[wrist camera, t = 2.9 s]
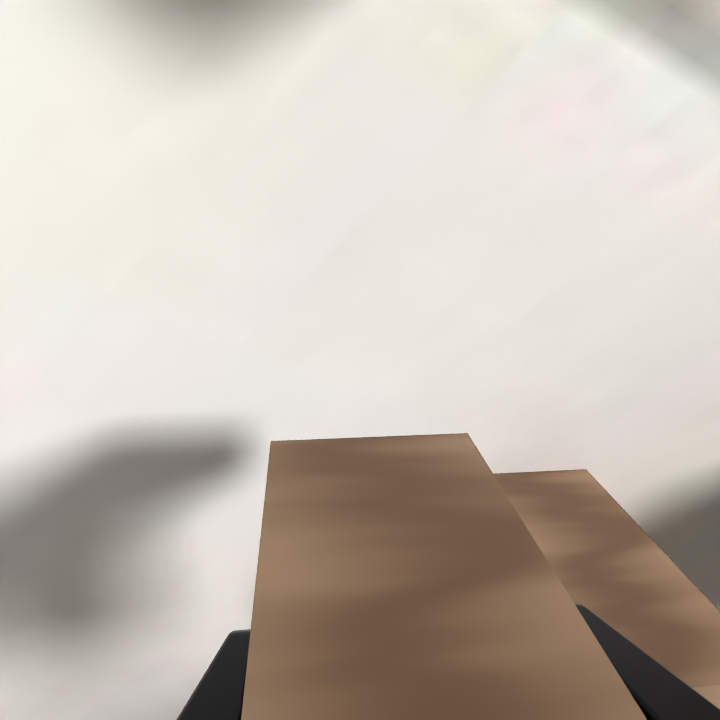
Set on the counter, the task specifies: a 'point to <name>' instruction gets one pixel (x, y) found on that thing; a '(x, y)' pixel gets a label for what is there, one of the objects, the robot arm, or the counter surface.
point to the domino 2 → (620, 572)
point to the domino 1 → (411, 594)
